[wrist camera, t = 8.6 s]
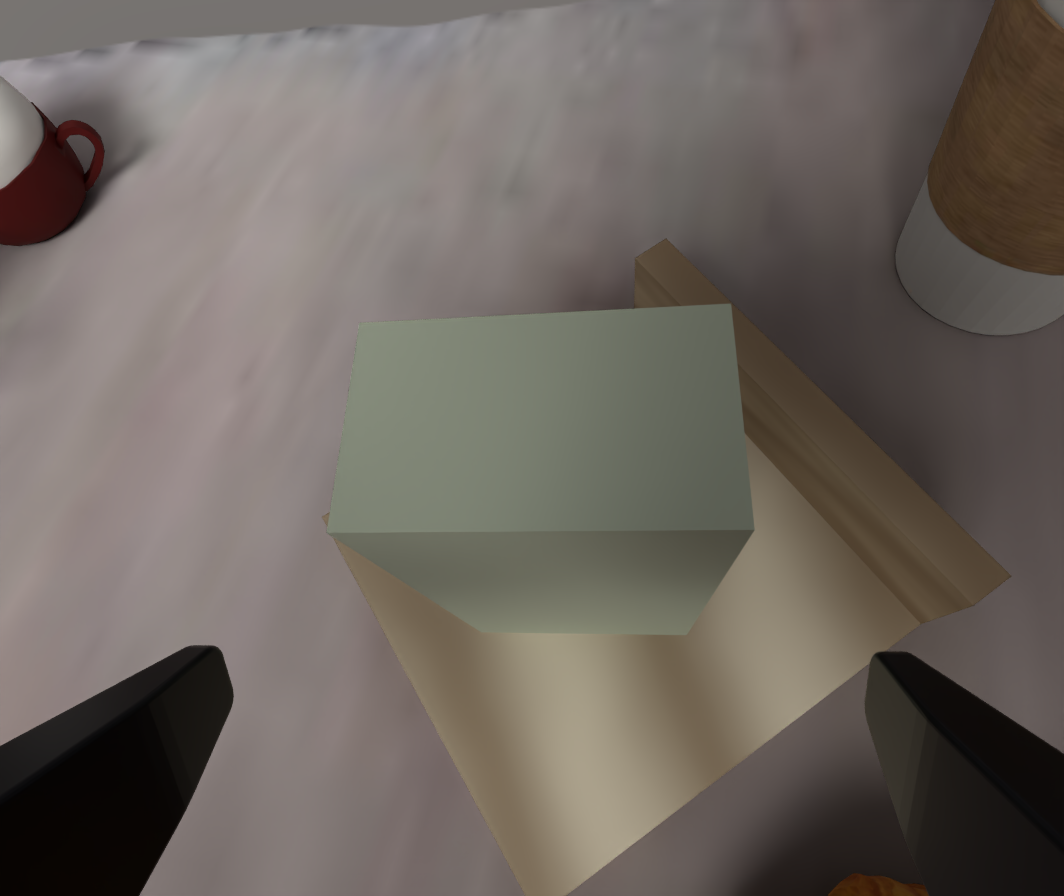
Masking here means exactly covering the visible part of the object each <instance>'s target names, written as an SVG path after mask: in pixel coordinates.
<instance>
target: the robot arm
mask: <svg viewBox="0 0 1064 896" xmlns="http://www.w3.org/2000/svg"><path fill="white" fill-rule="evenodd" d="M233 697H234V695H233V687H232V684H231V680H230V677H229V674H228V670H227V667H226V664H225V660H224V657H223V654H222V651H221V650H220V649H219V648H218V647H216V646H212V645H193V646H188V647H185V648H183V649H181V650H180V651H178V652H176V653H174V654H172V655H170V656H168V657H166V658H165V659H163V660H161V661H159V662H157V663H155V664H153V665H151V666H150V667H148V668H146V669H144V670H142V671H140V672H138V673H136V674H134V675H133V676H131V677H129V678H127V679H125V680H123V681H121V682H119V683H118V684H116V685H114V686H112V687H110V688H108V689H106V690H104V691H103V692H101V693H99V694H97V695H95V696H93V697H91V698H89V699H88V700H86V701H84V702H82V703H80V704H78V705H76V706H74V707H73V708H71V709H69V710H67V711H65V712H63V713H61V714H59V715H58V716H56V717H54V718H52V719H50V720H48V721H46V722H44V723H43V724H41V725H39V726H37V727H35V728H33V729H31V730H29V731H27V732H26V733H24V734H22V735H20V736H18V737H16V738H14V739H12V740H11V741H9V742H7V743H5V744H3V745H1V746H0V896H139V895H140V893H141V892H142V890H143V888H144V886H145V884H146V883H147V881H148V879H149V877H150V875H151V873H152V872H153V870H154V868H155V866H156V864H157V863H158V861H159V859H160V857H161V855H162V854H163V852H164V850H165V848H166V846H167V844H168V843H169V841H170V839H171V837H172V835H173V834H174V832H175V830H176V828H177V826H178V824H179V822H180V821H181V819H182V817H183V815H184V813H185V811H186V809H187V807H188V805H189V803H190V801H191V798H192V796H193V794H194V792H195V790H196V788H197V785H198V783H199V781H200V778H201V776H202V774H203V772H204V769H205V767H206V765H207V763H208V760H209V758H210V756H211V753H212V751H213V749H214V747H215V744H216V742H217V740H218V737H219V735H220V733H221V731H222V728H223V726H224V724H225V722H226V719H227V717H228V715H229V712H230V710H231V707H232V704H233ZM865 714H866V719H867V723H868V726H869V730H870V733H871V736H872V739H873V742H874V745H875V748H876V752H877V755H878V758H879V761H880V764H881V767H882V770H883V774H884V777H885V780H886V783H887V786H888V789H889V793H890V796H891V799H892V802H893V805H894V808H895V811H896V815H897V818H898V821H899V824H900V827H901V830H902V832H903V835H904V838H905V841H906V844H907V846H908V848H909V851H910V853H911V856H912V858H913V861H914V863H915V865H916V868H917V870H918V872H919V874H920V877H921V879H922V881H923V884H924V886H925V888H926V890H927V893H928V895H929V896H1064V754H1063V753H1062V752H1060V751H1059V750H1057V749H1056V748H1054V747H1053V746H1051V745H1050V744H1048V743H1047V742H1045V741H1044V740H1042V739H1041V738H1039V737H1038V736H1036V735H1034V734H1033V733H1031V732H1030V731H1028V730H1027V729H1025V728H1024V727H1022V726H1021V725H1019V724H1018V723H1016V722H1015V721H1013V720H1012V719H1010V718H1009V717H1007V716H1006V715H1004V714H1002V713H1001V712H999V711H998V710H996V709H995V708H993V707H992V706H990V705H989V704H987V703H986V702H984V701H983V700H981V699H980V698H978V697H977V696H975V695H974V694H972V693H971V692H969V691H967V690H966V689H964V688H963V687H961V686H960V685H958V684H957V683H955V682H954V681H952V680H951V679H949V678H948V677H946V676H945V675H943V674H942V673H940V672H939V671H937V670H935V669H934V668H932V667H931V666H929V665H928V664H926V663H925V662H923V661H922V660H920V659H919V658H917V657H916V656H914V655H912V654H910V653H908V652H887V651H879V652H876V653H875V654H873V656H872V658H871V661H870V667H869V674H868V682H867V689H866V697H865Z"/></svg>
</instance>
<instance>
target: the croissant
mask: <svg viewBox="0 0 1064 896" xmlns="http://www.w3.org/2000/svg"><path fill="white" fill-rule="evenodd" d="M828 896H929V895H928V893H927V890H926V888H925V886H924V885H920V884H915V883H912V884H902V883H900V882H898V881H895V880H893V879H891V878H888V877H884V876H865V875H862V874H856V873H853V874H852V875H850V876H849V877H847V878H845V879H844V880H842V881H841V882H840V883H839V884H838V885H837V886H836V887H835V888H834V889H833V890H832V891H831V892H830V893H829V894H828Z"/></svg>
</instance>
